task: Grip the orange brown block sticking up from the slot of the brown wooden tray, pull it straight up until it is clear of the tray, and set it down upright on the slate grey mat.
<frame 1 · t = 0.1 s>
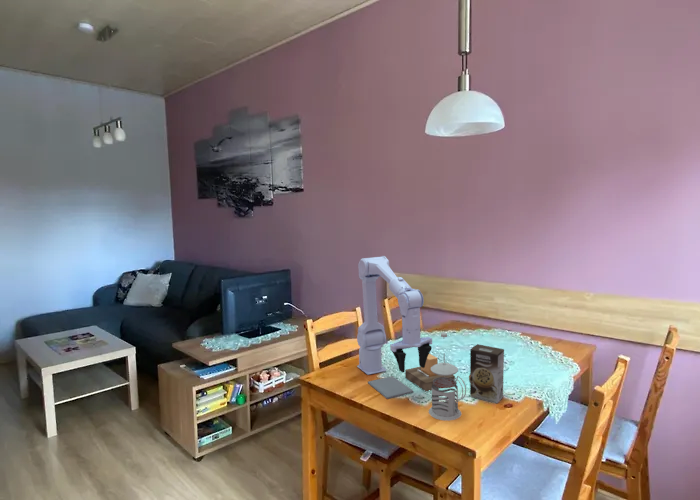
hand: (412, 368, 142), 10 cm above the table, tool pointing down, fingers open, 7 cm apart
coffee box: (486, 397, 142), on the table
french press: (447, 413, 132), on the table
mat: (390, 387, 151), on the table
orange brown block: (429, 381, 156), resting in brown wooden tray
brown wooden tray: (429, 380, 156), on the table
pastry: (481, 379, 156), on the table
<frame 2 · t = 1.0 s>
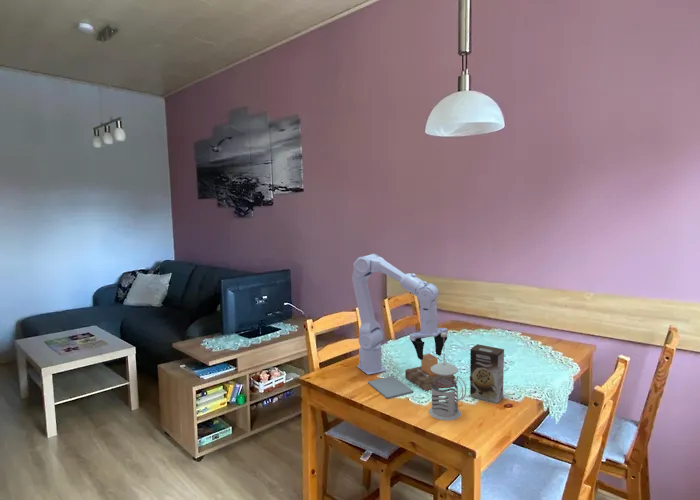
hand: (429, 356, 155), 9 cm above the table, tool pointing down, fingers open, 7 cm apart
nothing on the table moved.
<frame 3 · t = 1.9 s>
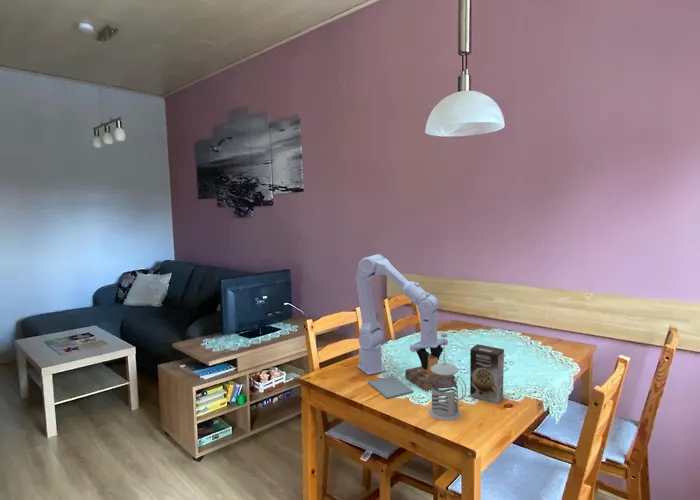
hand: (429, 367, 155), 5 cm above the table, tool pointing down, fingers closed on orange brown block, 3 cm apart
orange brown block: (429, 381, 156), resting in brown wooden tray, touching gripper
everything else where it was.
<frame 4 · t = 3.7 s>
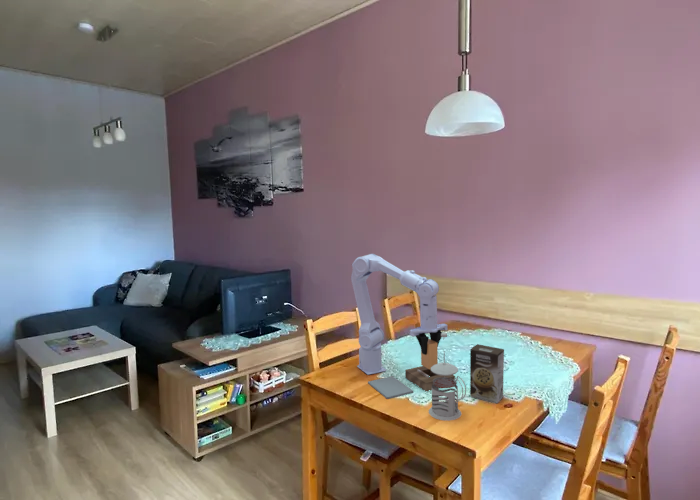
hand: (429, 352, 154), 10 cm above the table, tool pointing down, fingers closed on orange brown block, 3 cm apart
orange brown block: (429, 366, 155), point 5 cm above the table, touching gripper
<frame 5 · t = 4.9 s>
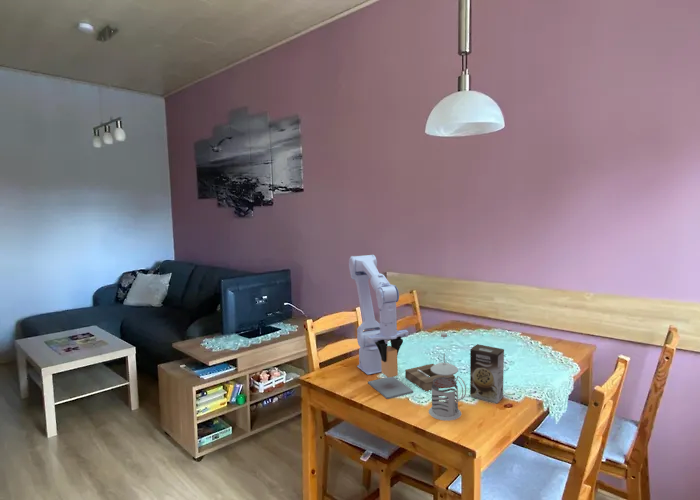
hand: (389, 359, 150), 10 cm above the table, tool pointing down, fingers closed on orange brown block, 3 cm apart
orange brown block: (389, 373, 151), point 5 cm above the table, touching gripper
when the fingers open (7 cm above the table, at t = 5.7 s): orange brown block drops 1 cm, resting on mat.
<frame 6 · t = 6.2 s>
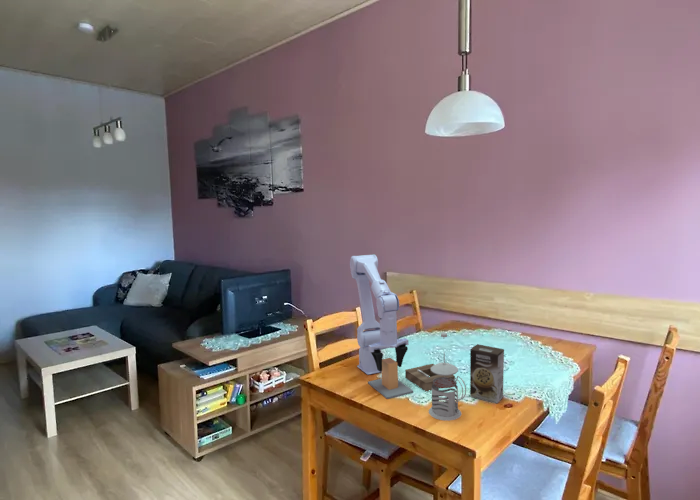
hand: (389, 368, 151), 7 cm above the table, tool pointing down, fingers open, 7 cm apart
orange brown block: (389, 385, 151), point 1 cm above the table, touching mat
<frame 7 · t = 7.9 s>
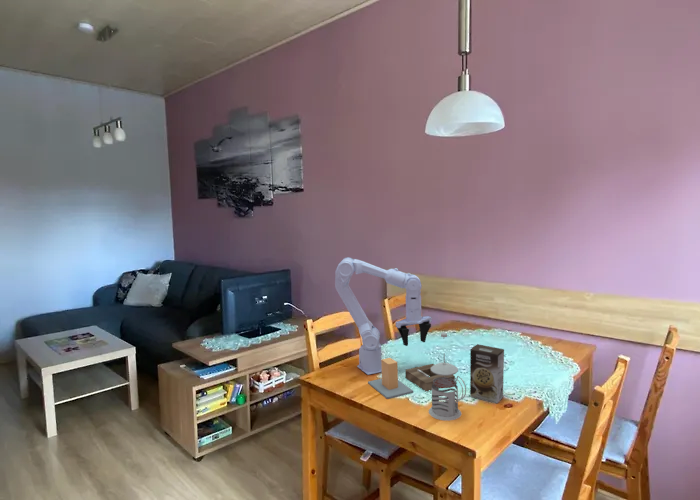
hand: (414, 343, 165), 10 cm above the table, tool pointing down, fingers open, 7 cm apart
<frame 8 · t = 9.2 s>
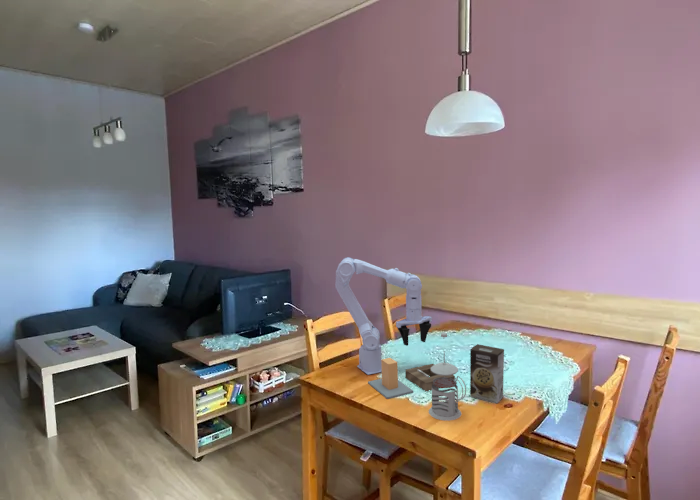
hand: (414, 343, 165), 10 cm above the table, tool pointing down, fingers open, 7 cm apart
at the end: orange brown block inside the target area on the mat (0.1 cm from its centre), point 0.6 cm above the mat's base; orange brown block tilted 0°; the gripper is holding nothing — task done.
